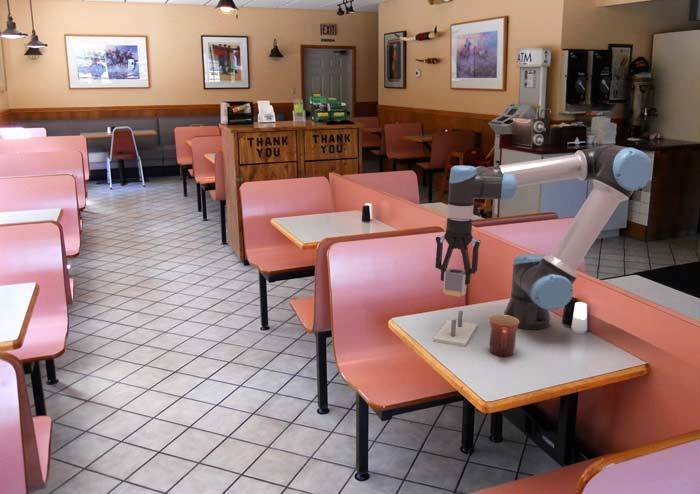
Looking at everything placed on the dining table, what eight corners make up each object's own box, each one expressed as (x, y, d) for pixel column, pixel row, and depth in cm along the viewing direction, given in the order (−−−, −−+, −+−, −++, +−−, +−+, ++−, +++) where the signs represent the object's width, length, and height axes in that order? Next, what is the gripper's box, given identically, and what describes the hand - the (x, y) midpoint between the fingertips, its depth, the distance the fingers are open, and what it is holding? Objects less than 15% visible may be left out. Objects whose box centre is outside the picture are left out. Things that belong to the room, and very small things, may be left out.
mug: (486, 345, 193) (488, 313, 191) (515, 348, 192) (518, 316, 189) (486, 361, 182) (489, 327, 179) (518, 364, 180) (521, 330, 178)
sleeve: (464, 292, 196) (466, 270, 194) (460, 296, 192) (461, 274, 190) (448, 289, 198) (450, 268, 196) (444, 294, 193) (445, 272, 192)
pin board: (477, 326, 208) (478, 309, 206) (465, 346, 192) (466, 328, 190) (447, 322, 212) (448, 305, 210) (433, 341, 195) (434, 322, 194)
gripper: (492, 219, 189) (486, 293, 194) (434, 212, 196) (429, 285, 201) (487, 223, 182) (480, 300, 188) (426, 217, 189) (422, 291, 195)
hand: (454, 292), depth 195 cm, fingers closed on sleeve, 5 cm apart
